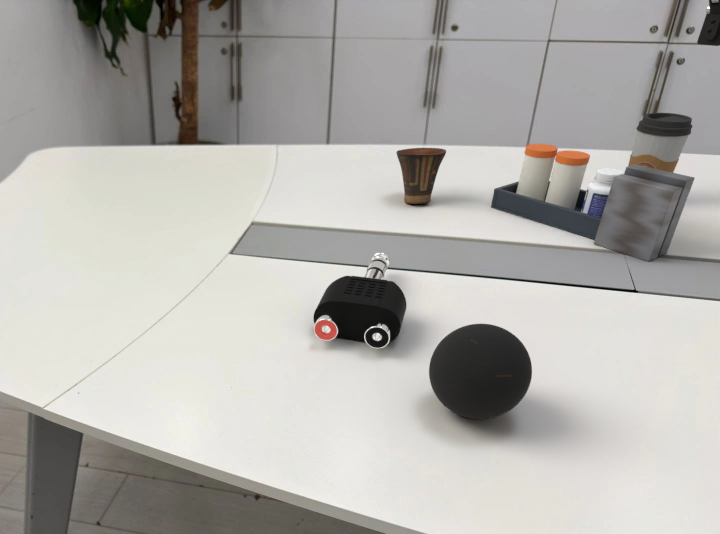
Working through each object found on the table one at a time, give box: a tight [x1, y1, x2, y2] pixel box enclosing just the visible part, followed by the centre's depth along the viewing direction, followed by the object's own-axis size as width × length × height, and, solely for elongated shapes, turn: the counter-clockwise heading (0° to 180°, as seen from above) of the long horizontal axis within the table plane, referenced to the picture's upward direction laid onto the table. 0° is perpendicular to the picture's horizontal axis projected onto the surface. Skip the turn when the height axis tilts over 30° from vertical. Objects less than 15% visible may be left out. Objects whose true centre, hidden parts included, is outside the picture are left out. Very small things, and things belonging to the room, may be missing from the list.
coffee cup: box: [627, 112, 693, 173], centre depth 122 cm, size 8×8×15 cm
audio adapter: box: [313, 252, 407, 350], centre depth 92 cm, size 11×5×25 cm
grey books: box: [593, 164, 696, 262], centre depth 105 cm, size 9×5×12 cm, turn 33°
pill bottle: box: [581, 167, 624, 218], centre depth 114 cm, size 5×5×9 cm
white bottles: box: [516, 143, 591, 210], centre depth 120 cm, size 11×5×10 cm, turn 33°
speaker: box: [428, 323, 533, 420], centre depth 70 cm, size 10×10×10 cm
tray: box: [490, 180, 601, 241], centre depth 120 cm, size 22×12×4 cm, turn 33°
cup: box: [396, 147, 447, 205], centre depth 127 cm, size 9×9×10 cm
